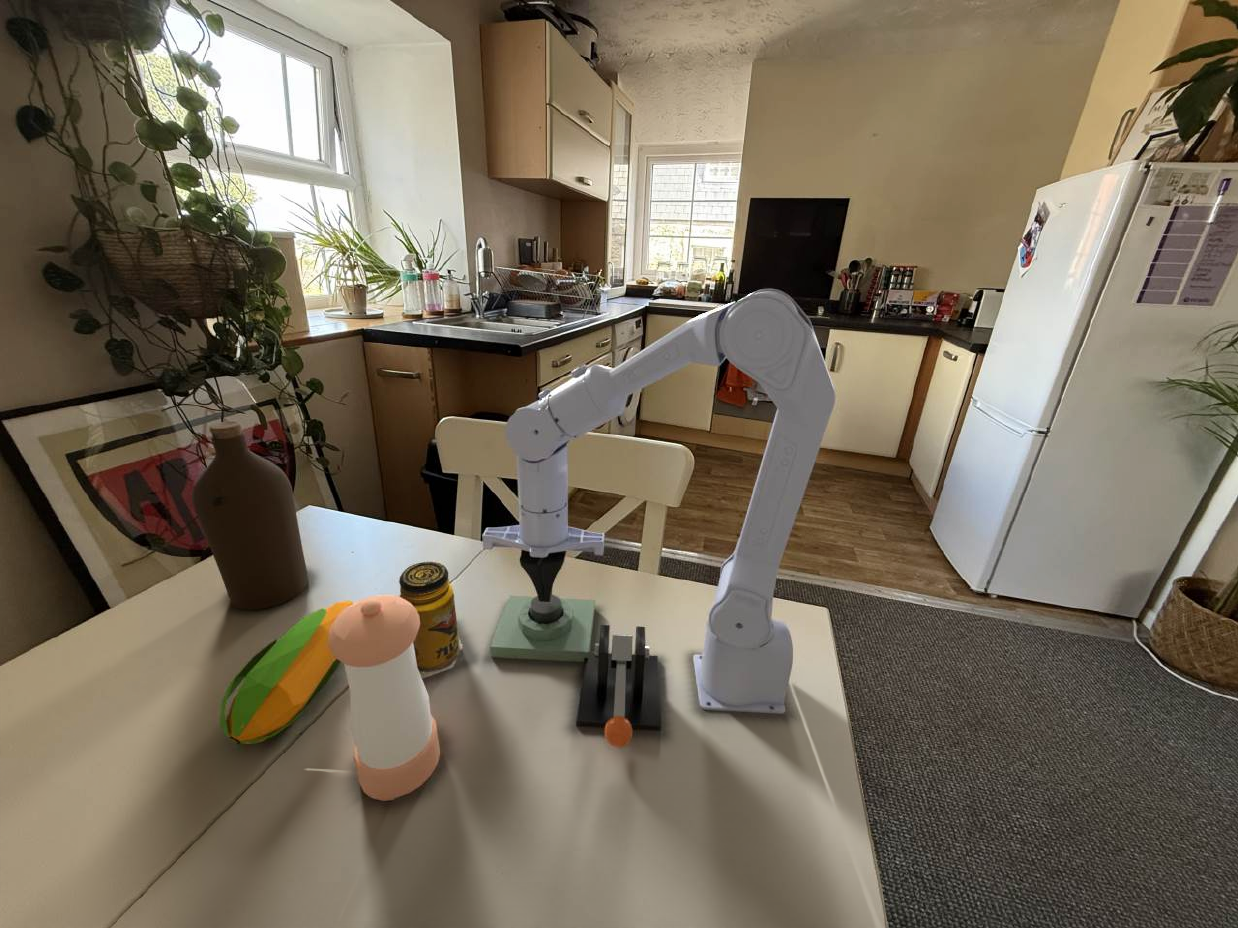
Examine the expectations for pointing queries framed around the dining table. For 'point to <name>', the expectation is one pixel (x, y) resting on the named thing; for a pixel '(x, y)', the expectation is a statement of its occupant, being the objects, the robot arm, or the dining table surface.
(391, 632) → the pepper shaker
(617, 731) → the switch lever
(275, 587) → the olive oil
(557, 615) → the button
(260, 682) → the corn
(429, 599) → the condiment
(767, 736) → the dining table surface
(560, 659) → the block
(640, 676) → the switch bracket
